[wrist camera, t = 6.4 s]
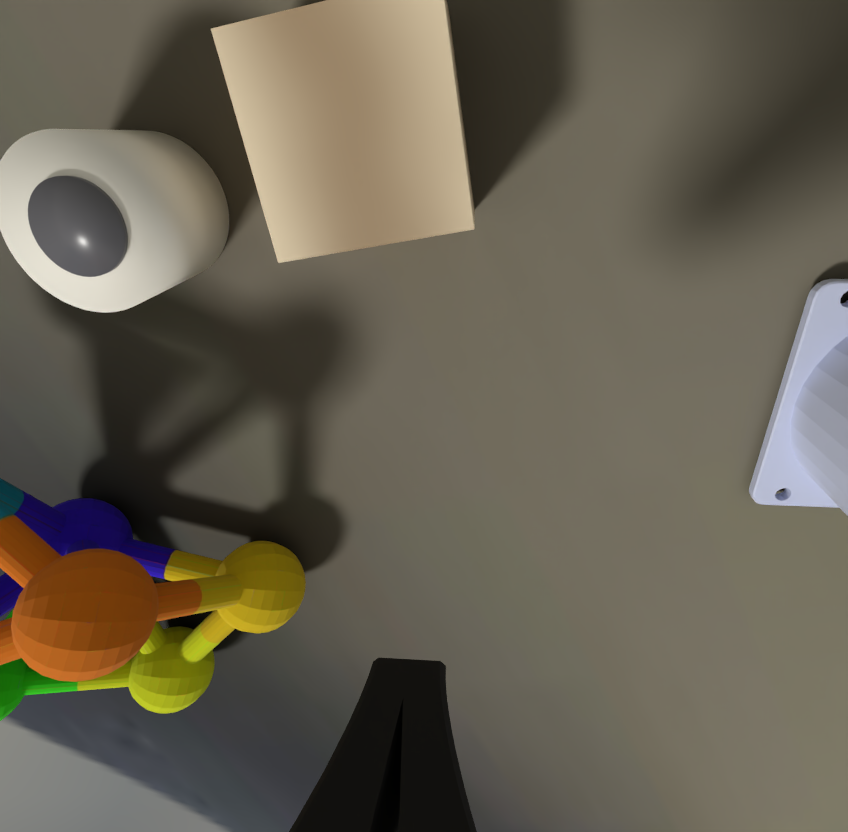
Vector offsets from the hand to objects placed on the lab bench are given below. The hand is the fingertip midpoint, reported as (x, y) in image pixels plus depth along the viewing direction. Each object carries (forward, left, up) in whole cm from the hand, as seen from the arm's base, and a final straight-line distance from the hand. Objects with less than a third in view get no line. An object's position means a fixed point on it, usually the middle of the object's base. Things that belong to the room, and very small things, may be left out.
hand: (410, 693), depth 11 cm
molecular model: (+13, +6, -11) cm, 18 cm away
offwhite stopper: (+9, -8, -11) cm, 16 cm away
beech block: (+2, -10, -11) cm, 15 cm away
